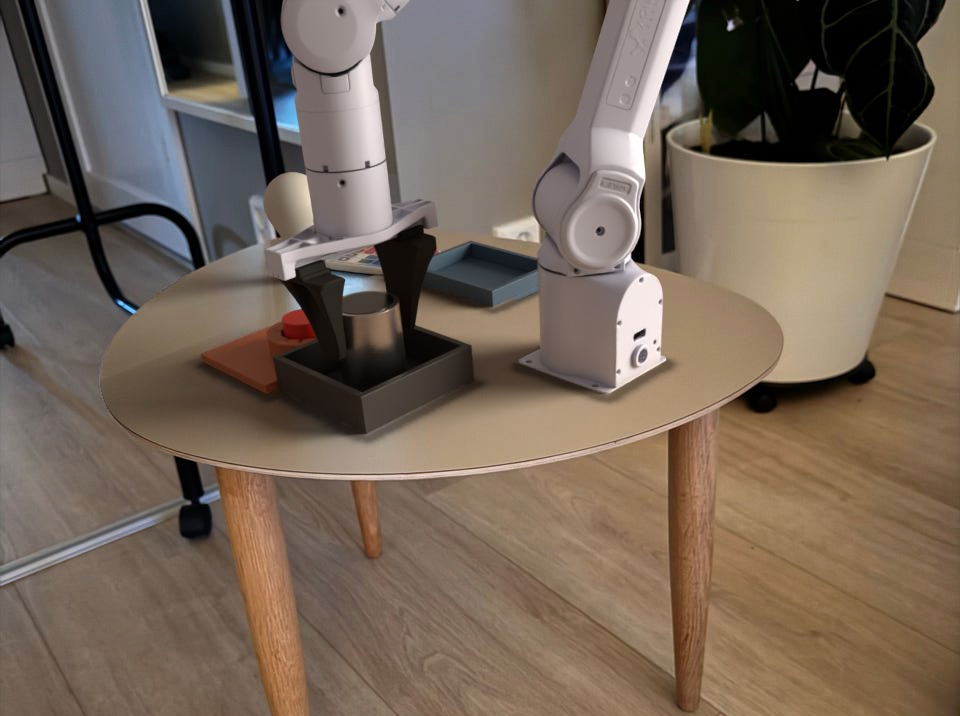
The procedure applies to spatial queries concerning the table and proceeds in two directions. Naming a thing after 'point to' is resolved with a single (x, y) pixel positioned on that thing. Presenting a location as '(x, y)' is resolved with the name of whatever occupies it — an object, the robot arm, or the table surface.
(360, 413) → the dark grey open box
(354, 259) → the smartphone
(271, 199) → the lightbulb
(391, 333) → the steel cup
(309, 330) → the button
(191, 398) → the table surface
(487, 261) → the tray
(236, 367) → the control
